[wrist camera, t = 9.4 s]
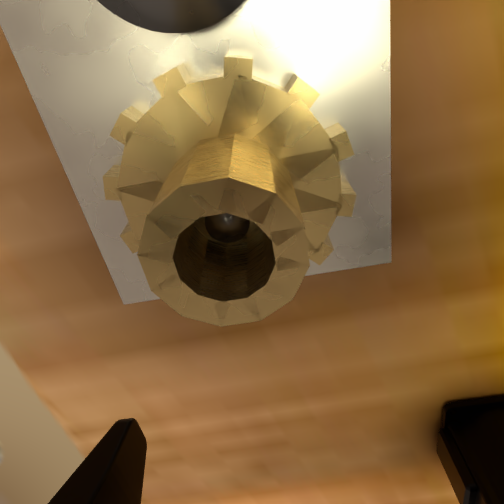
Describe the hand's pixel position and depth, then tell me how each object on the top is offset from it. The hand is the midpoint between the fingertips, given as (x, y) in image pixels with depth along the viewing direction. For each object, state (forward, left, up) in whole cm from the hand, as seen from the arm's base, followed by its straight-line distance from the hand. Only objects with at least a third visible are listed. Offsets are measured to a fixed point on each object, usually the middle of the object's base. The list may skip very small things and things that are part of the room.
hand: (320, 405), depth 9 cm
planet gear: (+2, -2, -10) cm, 11 cm away
